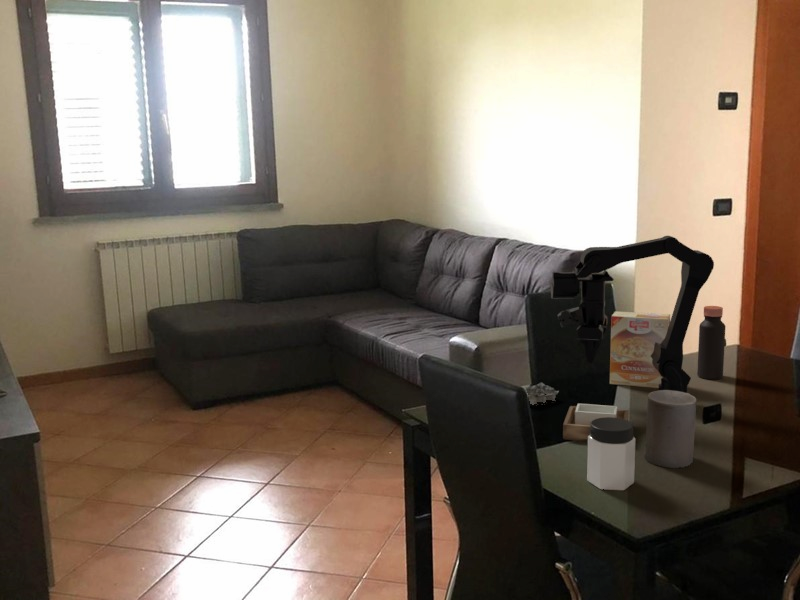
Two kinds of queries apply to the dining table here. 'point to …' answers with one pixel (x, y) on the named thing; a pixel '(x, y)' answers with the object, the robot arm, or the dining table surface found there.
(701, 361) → the bottle
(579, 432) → the walnut crate
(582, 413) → the grey crate
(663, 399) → the pillar candle
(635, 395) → the dining table surface
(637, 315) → the coffeecake box
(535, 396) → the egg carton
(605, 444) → the jar
